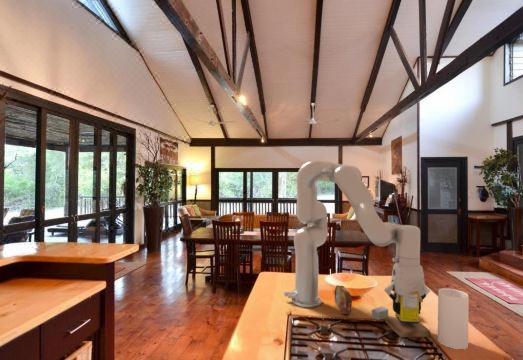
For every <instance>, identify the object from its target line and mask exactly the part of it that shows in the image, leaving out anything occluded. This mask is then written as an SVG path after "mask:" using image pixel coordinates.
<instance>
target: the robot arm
mask: <svg viewBox="0 0 523 360" xmlns="http://www.w3.org/2000/svg"><path fill="white" fill-rule="evenodd" d="M362 175H363V174H362V171H361V170H360V169H359V168H358V167H357V166H354V165H349V164H341V163H335V162H332V161H331V162H330V161H323V160H318V159H317V160H315V159H314V160H310V161H307V162H306V163H303V165H302V166H301V167H300V168H299V169H298V171H297V174H296V216H297V220H298V221H299V222H300V224H305V225H306V226H304V227H302V228H300V229H299V228H298V230H297V231H296V232H295V233H294V235H293V245H294V252H295V253H294V254H295V278H294V279H295V281H294V282H295V283H294V285H295V288H293V290H291V291H283V294H284V295H283V296H284V297H287V298H288V299H291V303H292V304H294V306H297V307H302V308H308V309H309V308H315V307H316V308H317V307H319V306H321V305H322V303H323V302H322V298H321V297H320V296H319V255H318V250H317V248H318V247H321V246H322V245H324V244H325V243H326V241H327V240H328V239H327V238H328V211H327V208H326V206H325V203H323V202H321V201H320V200H318V188H317V185H316V183H317V182H329V183H334V184H336V185H337V187H338V188H339V190H340V191H341V192H342V194H343V195H344V196H345V198H346V199H347V201H348V203H349V204H350V206H351V207H352V210H353V213H354V215H355V217H356V220H357V222H358V225H359V226H360V228H361V229H362V230H363V232H364V234H365V235H366V236H367V238H368V239H369V241H370V242H372V244H374V246H378V247H386V246H388V245H390V244H393V243H394V244H395V257H392V262H393V263H394V264H393V266H392V267H393V268H392V271H391V278H390V279H391V280H390V284H389V285H387V286H386V287H385V288H384V292H385V293H386V295H388V297H390V299H391V300H392V310H393V312H394V313H395V312H396V313H397V314H400V303H399V299H400V296H408V295H409V292H419V315H420V314H421V311H422V303H423V302H424V301H423V300H424V299H425V298H426V297H427V296H428V295H429V293H430V292H431V290H430V289H429V288H428V286H426V283H425V273H424V269H423V266H422V265H421V261H420V260H421V230H420V227H418V226H416V225H409V224H398V223H393V222H387V221H385V222H384V221H383V220H382V219H381V218H380V216H379V214H378V212H377V211H376V209H375V205H374V196H373V194H372V193H371V191H370V190H369V189H368V187H367V186H366V184H365V183H364V181H363V180H362V177H363V176H362ZM392 292H393V293H392Z"/></svg>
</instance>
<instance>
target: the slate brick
mask: <svg viewBox="0 0 523 360" xmlns="http://www.w3.org/2000/svg"><path fill="white" fill-rule="evenodd" d="M386 317H389V309H388V308H386V307H385V306H378V307H376V308H373V309H371V319H375V320H377V321H380V320H382V319H386Z"/></svg>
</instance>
